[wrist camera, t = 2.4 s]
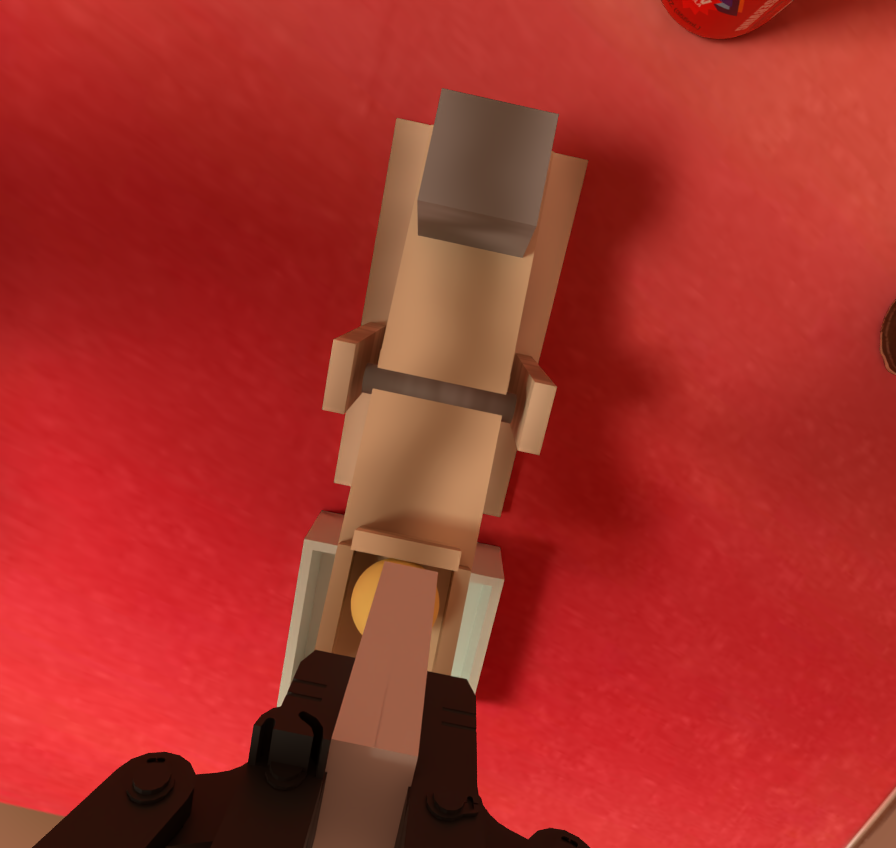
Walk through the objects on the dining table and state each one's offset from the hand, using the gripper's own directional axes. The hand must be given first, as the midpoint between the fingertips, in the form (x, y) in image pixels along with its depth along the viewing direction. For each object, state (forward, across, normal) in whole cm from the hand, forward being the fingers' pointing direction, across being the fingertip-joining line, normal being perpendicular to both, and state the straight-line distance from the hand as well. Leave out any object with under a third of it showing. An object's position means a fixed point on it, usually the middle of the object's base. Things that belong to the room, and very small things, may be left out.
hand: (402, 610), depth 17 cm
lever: (+12, 0, +4) cm, 13 cm away
